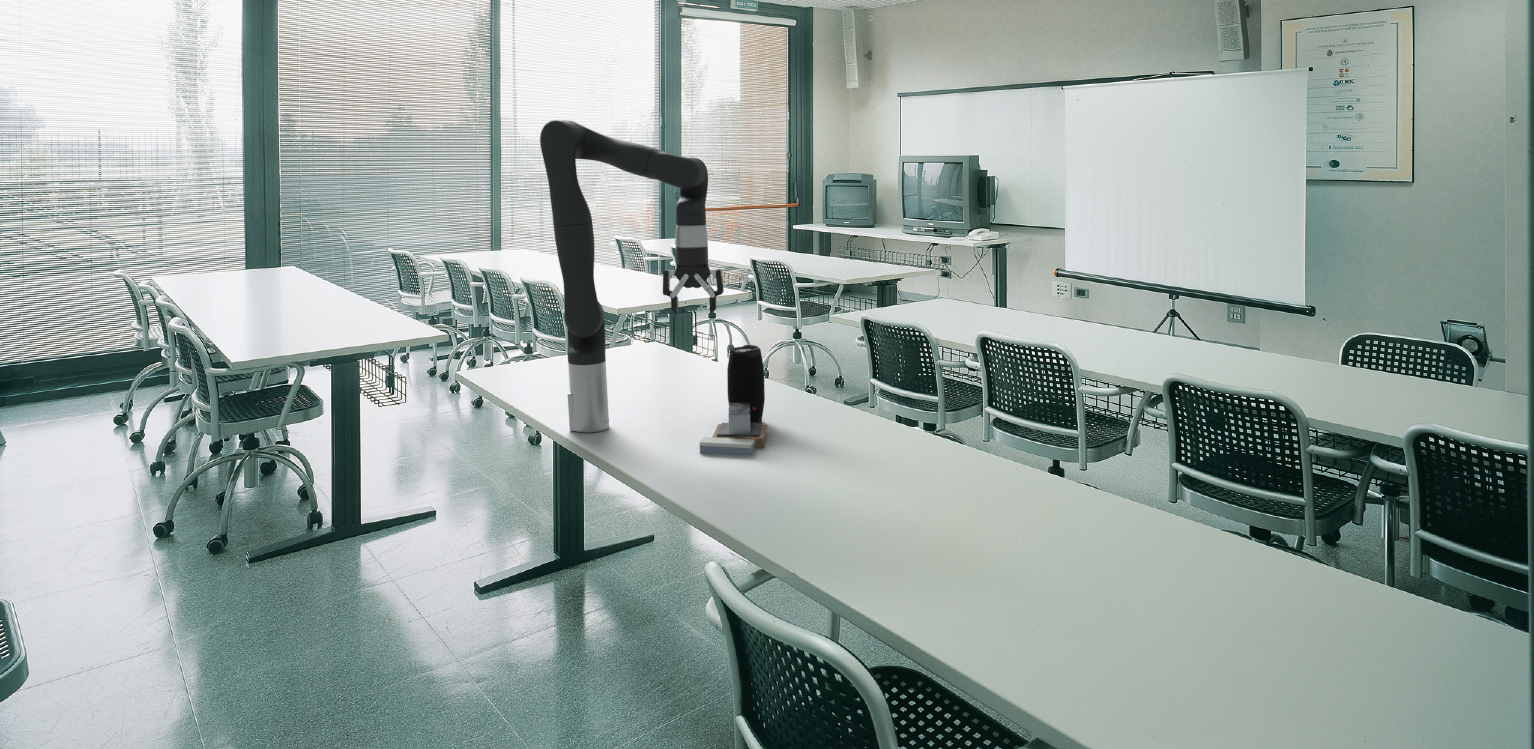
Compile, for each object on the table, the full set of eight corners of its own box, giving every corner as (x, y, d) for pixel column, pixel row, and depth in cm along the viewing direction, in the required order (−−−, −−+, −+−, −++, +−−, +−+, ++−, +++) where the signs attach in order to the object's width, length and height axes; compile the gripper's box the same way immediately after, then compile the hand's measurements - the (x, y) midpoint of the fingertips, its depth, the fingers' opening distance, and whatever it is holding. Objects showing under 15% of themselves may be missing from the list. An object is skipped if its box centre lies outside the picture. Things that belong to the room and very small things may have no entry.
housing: (729, 423, 232) (729, 403, 231) (750, 422, 233) (749, 402, 231) (729, 434, 223) (728, 413, 222) (750, 433, 223) (750, 413, 222)
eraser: (699, 454, 219) (699, 442, 218) (704, 449, 223) (704, 437, 222) (750, 457, 216) (750, 444, 216) (754, 452, 220) (754, 439, 220)
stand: (712, 447, 223) (711, 435, 222) (718, 433, 234) (718, 421, 234) (763, 448, 222) (763, 435, 221) (767, 433, 234) (767, 421, 233)
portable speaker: (766, 426, 240) (765, 350, 236) (729, 427, 239) (727, 351, 235) (763, 417, 248) (762, 343, 244) (727, 418, 248) (725, 344, 243)
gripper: (723, 243, 227) (725, 310, 230) (664, 243, 228) (667, 310, 232) (719, 245, 220) (721, 315, 223) (658, 246, 221) (661, 315, 224)
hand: (693, 313), depth 227 cm, fingers open, 8 cm apart
